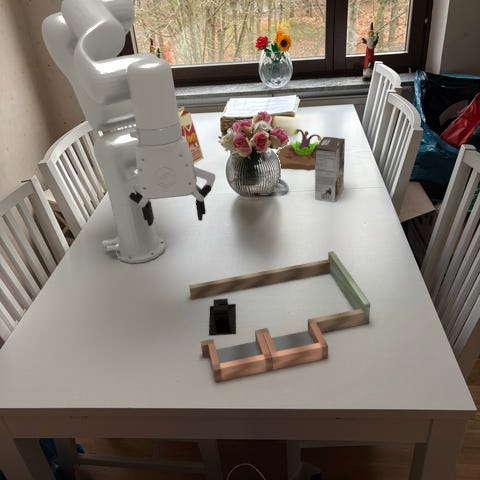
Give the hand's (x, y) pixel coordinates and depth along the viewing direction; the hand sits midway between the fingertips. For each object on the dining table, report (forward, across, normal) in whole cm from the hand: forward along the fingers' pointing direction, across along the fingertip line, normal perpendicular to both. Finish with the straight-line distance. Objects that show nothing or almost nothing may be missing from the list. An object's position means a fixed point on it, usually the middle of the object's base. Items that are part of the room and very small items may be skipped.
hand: (176, 220), depth 95 cm
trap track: (+22, +18, -6) cm, 29 cm away
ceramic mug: (+20, +21, +54) cm, 61 cm away
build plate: (+22, +6, -4) cm, 24 cm away
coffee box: (+21, +38, +48) cm, 65 cm away
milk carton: (+18, -7, +84) cm, 86 cm away
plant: (+20, +34, +77) cm, 86 cm away
